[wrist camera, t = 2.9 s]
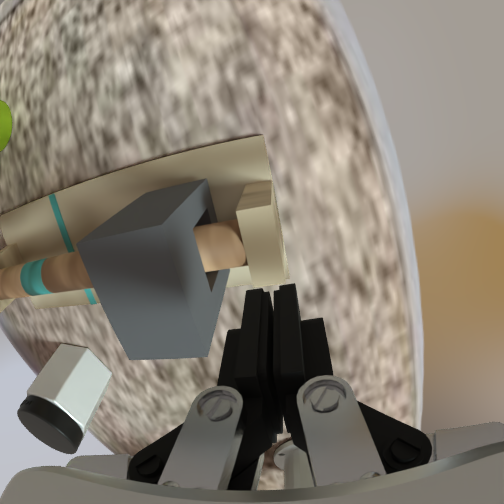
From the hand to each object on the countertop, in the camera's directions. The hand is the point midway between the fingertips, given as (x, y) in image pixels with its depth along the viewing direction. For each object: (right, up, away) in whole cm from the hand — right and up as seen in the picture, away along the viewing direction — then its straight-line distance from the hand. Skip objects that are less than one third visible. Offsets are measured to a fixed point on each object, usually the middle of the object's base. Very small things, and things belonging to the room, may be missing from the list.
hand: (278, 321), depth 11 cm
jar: (-23, -13, +25) cm, 36 cm away
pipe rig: (-14, +4, +16) cm, 22 cm away
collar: (-6, +4, +13) cm, 15 cm away
